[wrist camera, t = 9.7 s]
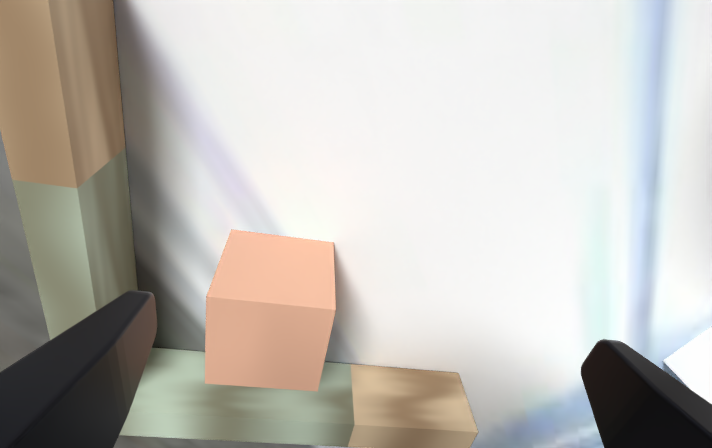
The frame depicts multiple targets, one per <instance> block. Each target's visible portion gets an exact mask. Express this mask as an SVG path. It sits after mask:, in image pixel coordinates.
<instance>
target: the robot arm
mask: <svg viewBox="0 0 712 448" xmlns="http://www.w3.org/2000/svg"><path fill="white" fill-rule="evenodd" d="M156 332H157V317H156V306H155V297H154V295H153V294H152V293H151V292H145V291H136V290H130V291H127V292H125V293H123V294H122V295H120V296H119V297H117V298H116V299H114V300H112V301H111V302H109V303H108V304H106V305H105V306H103V307H101V308H100V309H98V310H97V311H95V312H94V313H92V314H91V315H89V316H87V317H86V318H84V319H83V320H81V321H80V322H78V323H77V324H75V325H73V326H72V327H70V328H69V329H67V330H66V331H64V332H62V333H61V334H59V335H58V336H56V337H55V338H53V339H52V340H50V341H48V342H47V343H45V344H44V345H42V346H41V347H39V348H37V349H36V350H34V351H33V352H31V353H30V354H28V355H27V356H25V357H23V358H22V359H20V360H19V361H17V362H16V363H14V364H12V365H11V366H9V367H8V368H6V369H5V370H3V371H2V372H0V448H113V447H114V445H115V442H116V440H117V438H118V436H119V434H120V432H121V430H122V428H123V425H124V423H125V421H126V419H127V416H128V414H129V411H130V408H131V406H132V403H133V400H134V397H135V394H136V391H137V388H138V386H139V383H140V380H141V377H142V374H143V371H144V368H145V365H146V362H147V359H148V357H149V354H150V351H151V348H152V345H153V342H154V339H155V336H156ZM581 376H582V380H583V383H584V386H585V389H586V392H587V395H588V399H589V402H590V405H591V408H592V411H593V414H594V418H595V421H596V424H597V427H598V430H599V433H600V436H601V439H602V442H603V445H604V448H712V404H711V403H709V402H708V401H706V400H705V399H703V398H702V397H701V396H699V395H698V394H696V393H695V392H693V391H692V390H691V389H689V388H688V387H686V386H685V385H683V384H682V383H681V382H679V381H678V380H676V379H675V378H673V377H672V376H670V375H669V374H668V373H666V372H665V371H663V370H662V369H660V368H659V367H658V366H656V365H655V364H653V363H652V362H650V361H649V360H648V359H646V358H645V357H643V356H642V355H640V354H639V353H638V352H636V351H635V350H633V349H632V348H630V347H629V346H628V345H626V344H625V343H623V342H620V341H615V340H606V339H603V340H600V341H598V342H597V343H596V345H595V346H594V348H593V349H592V350H591V352H590V353H589V355H588V356H587V358H586V359H585V361H584V362H583V364H582V367H581Z"/></svg>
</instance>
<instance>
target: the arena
mask: <svg viewBox="0 0 712 448" xmlns="http://www.w3.org/2000/svg"><path fill="white" fill-rule="evenodd" d="M0 130H1V134H2V139H3V143H4V147H5V151H6V155H7V160H8V164H9V168H10V172H11V176H12V181H13V185H14V189H15V193H16V197H17V202H18V206H19V210H20V214H21V218H22V223H23V227H24V231H25V235H26V239H27V244H28V248H29V252H30V256H31V261H32V265H33V269H34V273H35V277H36V282H37V286H38V290H39V294H40V298H41V303H42V307H43V311H44V315H45V319H46V324H47V328H48V332H49V336H50V340H52V339H53V338H55V337H56V336H58V335H59V334H61V333H62V332H64V331H66V330H67V329H69V328H70V327H72V326H73V325H75V324H77V323H78V322H80V321H81V320H83V319H84V318H86V317H87V316H89V315H91V314H92V313H94V312H95V311H97V310H98V309H100V308H101V307H103V306H105V305H106V304H108V303H109V302H111V301H112V300H114V299H116V298H117V297H119V296H120V295H122V294H123V293H125V292H127V291H130V290H136V291H138V287H137V275H136V263H135V251H134V240H133V228H132V216H131V205H130V193H129V181H128V169H127V158H126V146H125V134H124V123H123V111H122V99H121V87H120V76H119V64H118V52H117V41H116V29H115V17H114V5H113V0H0ZM477 434H478V430H477V427H476V424H475V421H474V418H473V415H472V412H471V409H470V406H469V403H468V400H467V397H466V394H465V391H464V388H463V385H462V382H461V379H460V376H459V374H458V373H452V372H440V371H428V370H416V369H404V368H392V367H380V366H368V365H356V364H344V363H332V362H324V365H323V370H322V374H321V379H320V383H319V388H318V391H304V390H289V389H275V388H261V387H247V386H232V385H218V384H205V352H200V351H188V350H176V349H164V348H151V351H150V354H149V357H148V359H147V362H146V365H145V368H144V371H143V374H142V377H141V380H140V383H139V386H138V388H137V391H136V394H135V397H134V400H133V403H132V406H131V408H130V411H129V414H128V416H127V419H126V421H125V423H124V425H123V428H122V430H121V432H120V434H119V435H129V436H148V437H168V438H187V439H206V440H225V441H245V442H264V443H283V444H302V445H322V446H341V447H360V448H470V446H471V444H472V443H473V441H474V439H475V437H476V435H477Z"/></svg>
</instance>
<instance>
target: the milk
mask: <svg viewBox="0 0 712 448" xmlns="http://www.w3.org/2000/svg"><path fill="white" fill-rule="evenodd" d="M663 361H664V362H665V363H666V364H667V365H668V367H669V368H670V369H671V370H672V371H673V372H674V373H675V374H676V375H677V376H678V377H679V378H680V379H681V380H682V381H683V382H684V383H685V384H686V385H687V386H688V387H689V388H690V389H691V390H692V391H693V392H695V393H696V394H698V395H699V396H701V397H702V398H703V399H705V400H706V401H708V402H709V403H711V404H712V326H711V327H710V328H708V329H707V330H706V331H704V332H703V333H701V334H700V335H699V336H697V337H696V338H694V339H693V340H691V341H690V342H689V343H687V344H686V345H684V346H683V347H682V348H680V349H679V350H677V351H676V352H675V353H673V354H672V355H670V356H669V357H668V358H666V359H665V360H663Z"/></svg>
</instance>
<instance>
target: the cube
mask: <svg viewBox="0 0 712 448" xmlns="http://www.w3.org/2000/svg"><path fill="white" fill-rule="evenodd" d="M335 312H336V298H335V269H334V242H326V241H318V240H310V239H302V238H294V237H287V236H279V235H271V234H263V233H255V232H247V231H239V230H231V232H230V234H229V237H228V240H227V242H226V245H225V248H224V250H223V253H222V256H221V259H220V261H219V264H218V267H217V269H216V272H215V275H214V277H213V280H212V283H211V285H210V288H209V291H208V294H207V296H206V343H205V384H218V385H232V386H247V387H261V388H275V389H289V390H304V391H318V388H319V383H320V379H321V374H322V370H323V365H324V361H325V356H326V352H327V347H328V343H329V339H330V334H331V330H332V325H333V321H334V316H335Z"/></svg>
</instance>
